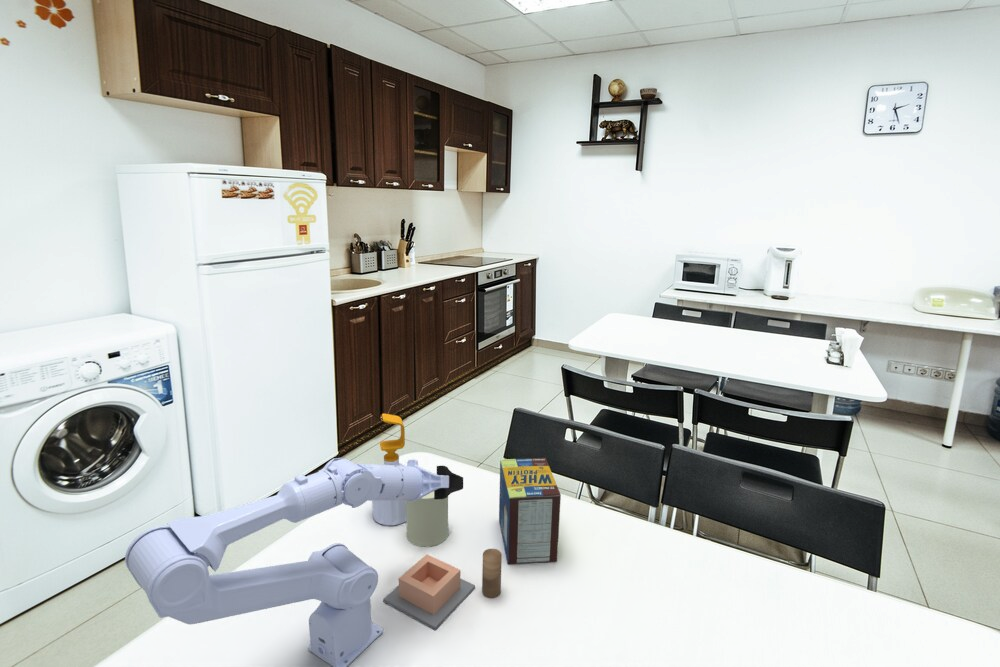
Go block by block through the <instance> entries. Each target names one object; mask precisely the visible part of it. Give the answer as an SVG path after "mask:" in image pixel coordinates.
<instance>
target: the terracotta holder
mask: <svg viewBox="0 0 1000 667" xmlns="http://www.w3.org/2000/svg"><path fill="white" fill-rule="evenodd" d="M475 589H476V585H475V584H473V583H471V582H469V581H466V580H465V579H463V578H461V569H460V568H458V567H455V566H453V565H452V564H451V565H450V564H448V563H447V562H445V561H443V560H440V559H438V558H436V557H434V556H432V555H430V554H428V553H427V554H425V555H423V556H422V558H420V560H418V561H417V562H416V563H415V564H414V565H412V566H411V567H410V568H409V569H408V570H407V571H405V572H404V573H403V574H402V575H401V576H399V577H398V585H397V586H396V587H395V588H394V589H393V590H392V591H390V593H388V594H386V596H385V597H383V599H382V600H383V603H385V604H386V605H388V606H390V607H392V608H395V610H398V611H400V612H402V613H404V614H405V615H406V616H409V617H410V618H412V619H415V620H416V621H417V622H419V623H421V624H423V625H425V626H427V627H429V628H430V629H433V630H434V631H436V630H437V629H438V628H439V627H440V626H441V625H442V624H443V623H444V622H445V621H446V620H447V619H448V618H449V617H450V616H451V615H452V613H453V612H454V611H455V610H456V609H457V608H458V607H459V606H460V605H461V604H462V603H463V602H464V601H465V600H466V599H467V598H468V596H470V594H471V593H473V591H474V590H475Z"/></svg>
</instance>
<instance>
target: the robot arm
mask: <svg viewBox="0 0 1000 667" xmlns="http://www.w3.org/2000/svg"><path fill="white" fill-rule="evenodd" d="M406 463H407V464H406V465H405V466H397V465H383V464H379V463H378V464H376V463H370V464H369V463H355V462H353V461H351V460H349V459H347V458H345V457H338V458H337V457H336V458H334V457H333V458H332V459H330V460H329V461H328V462H327V463H326V464H325V465H324V466H323V468H321V469H320V470H317V471H318V472H315V473H311V474H308V475H307V476H305V475H304V474H299V475H297V476H294V480H291V481H289V482H285V483H284V484H282V486H281V487H280V489H279V491H278V492H277V493H276V494H275V495H272V496H269V497H266V498H261V499H259V500H254V501H252V502H249V503H245V504H242V505H238V506H234V507H230V508H227V509H223V510H220V511H216V512H213V513H210V514H206V515H200V516H191V517H189V516H188V517H181V518H180V517H179V518H175V519H174V520H172V521H169V522H168V523H167V525H157V526H153V527H150V528H149V529H146V530H145V531H143V532H141V533H140V534H139V535H137V536H136V537H134V539H133V540H132V542H131V543H130V544H129V545H128V547H127V549H126V552H125V555H124V561H125V563H124V564H125V566H126V567H127V569H128V571H129V572H130V574H131V576H132V577H133V578H134V580H135V581H136V583H137V584H138V586H139V587H141V589H142V590H143V591H144V593H145V594H146V597H147V599H148V602H149V604H150V605H151V607H152V608H153V610H154V611H155V613H156V614H157V616H158V618H160V619H161V618H167V617H169V618H170V619H173V620H177V621H178V622H181V623H184V624H187V625H197V624H201V623H205V622H210V621H216V620H220V619H225V618H229V617H234V616H235V617H236V616H239V615H245V614H249V613H253V612H257V611H262V610H268V609H273V608H276V607H281V606H282V607H283V606H286V605H291V604H295V603H301V602H304V601H309V600H316V601H319V602H320V604H319V605H318V606H317V608H316V609H315V610H314V611H313V612H312V613H311V614H310V616H309V617H308V631H309V644H307V649H308V651H310V652H311V653H313V654H314V655H316V656H317V657H319V658H320V659H321V660H323V661H324V662H326V663H328V664H329V665H330V666H332V667H348V666H349V665H350V664H351V663H353V661H354V660H356V658H357V657H358V656H359V655H361V654H362V653H363V652H364V651H365V650H366V649H367V648H368V647H369V646H370V645H371V644H372V643H374V641H375V640H376V639H378V637H380V635H382V634H383V633H384V628H382V627H381V626H379V625H377V624H376V623H375V622H372V609H371V608H372V606H371V597H372V596H373V594H374V593H375V591H376V589H377V586H378V582H379V573H378V571H377V570H376V569H375V568H374V567H372V566H370V565H368V564H367V563H366V562H365V561H363V560H362V559H361V558H360V557H358V556H357V554H354V552H352V551H351V550H350V549H349V548H348V547H347V546H346V544H344V543H341V542H336V543H332V544H330V545H328V546H327V547H325V548H324V549H320V550H316V551H312V552H311V554H310V556H309V557H308V559H307V560H304V561H297V562H290V563H284V564H277V565H270V566H263V567H257V568H252V569H251V568H250V569H244V570H235V571H232V572H230V571H229V572H223V573H218V574H211V575H210V572H209V567H210V568H211V569H212V571H213V572H217V570H218V569H219V568H220V565H221V563H222V560H223V557H224V555H225V553H226V550H227V547H228V546H230V545H231V544H233V543H235V542H238V541H239V540H242V539H244V538H246V537H248V536H250V535H252V534H255V533H256V532H259V531H261V530H263V529H265V528H267V527H269V526H271V525H274V524H276V523H277V522H280V521H282V520H287V522H288V521H289V522H291V523H294V524H295V523H299V522H301V521H304V520H307V519H309V518H311V517H314V516H316V515H319V514H322V513H324V512H326V511H329V510H331V509H333V508H335V507H338V506H340V505H342V504H344V506H350V507H351V509H355V508H359V507H361V506H362V505H364V504H365V503H367V502H372V501H395V500H406V501H410V502H412V501H417V500H419V499H420V498H422V497H424V496H426V495H428V494H429V493H431V492H433V491H434V499H445V498H447V497H448V498H449V496H450V495H451V494H452V493H455V492H458V491H459V492H460V491H461V490H463V489H464V477H463V476H461V475H459V474H456V473H454V472H452V471H451V470H450V469H449V467H448V466H446V465H436V473H435V472H433V471H431V470H428V469H426V468H423V467H421V466H419V461H418V460H417V459H415V458H414V459H408V460H407V462H406Z"/></svg>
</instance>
